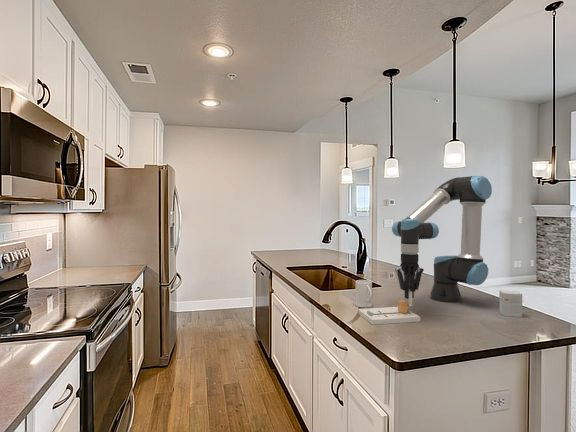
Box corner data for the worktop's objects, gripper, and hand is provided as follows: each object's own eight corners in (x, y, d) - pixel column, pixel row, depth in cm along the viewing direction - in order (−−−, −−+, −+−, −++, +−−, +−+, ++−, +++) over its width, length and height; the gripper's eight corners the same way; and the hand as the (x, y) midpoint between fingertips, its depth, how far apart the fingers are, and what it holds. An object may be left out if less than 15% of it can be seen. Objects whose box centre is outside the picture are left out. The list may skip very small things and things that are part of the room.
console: (401, 310, 167) (401, 304, 167) (420, 321, 152) (420, 314, 152) (357, 313, 163) (358, 306, 163) (372, 324, 148) (372, 317, 148)
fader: (402, 310, 160) (402, 299, 160) (407, 313, 156) (407, 301, 156) (397, 310, 159) (397, 299, 159) (402, 313, 155) (402, 302, 155)
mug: (377, 308, 171) (377, 284, 170) (361, 309, 169) (361, 285, 169) (368, 302, 182) (368, 279, 182) (352, 303, 181) (352, 280, 180)
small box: (518, 314, 162) (519, 291, 162) (522, 317, 156) (522, 294, 156) (499, 312, 164) (499, 290, 164) (501, 315, 159) (502, 292, 159)
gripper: (418, 251, 162) (417, 302, 163) (392, 252, 160) (391, 304, 161) (427, 253, 155) (427, 307, 156) (400, 254, 153) (399, 308, 153)
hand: (409, 305), depth 158 cm, fingers closed
